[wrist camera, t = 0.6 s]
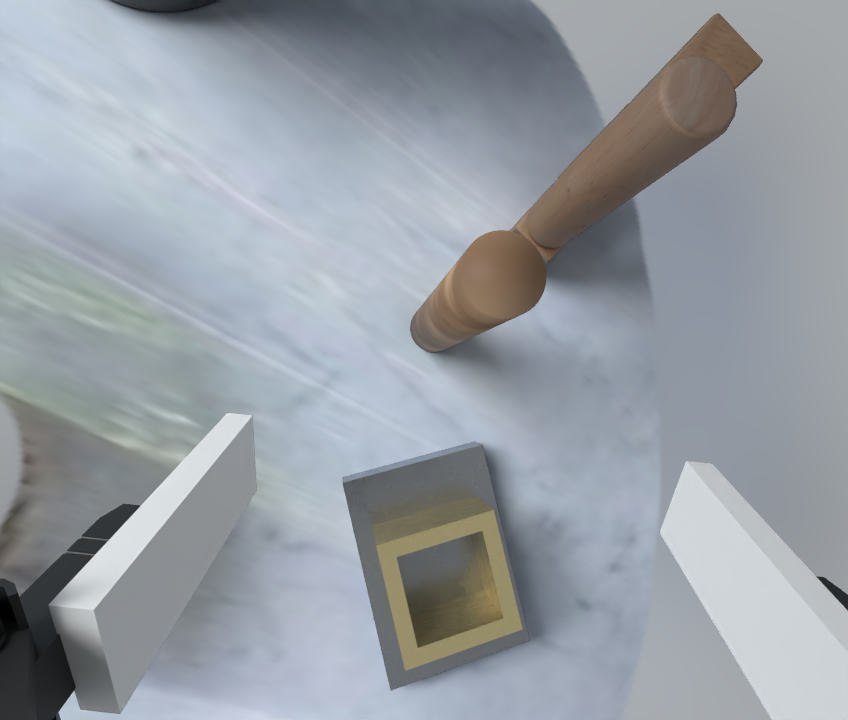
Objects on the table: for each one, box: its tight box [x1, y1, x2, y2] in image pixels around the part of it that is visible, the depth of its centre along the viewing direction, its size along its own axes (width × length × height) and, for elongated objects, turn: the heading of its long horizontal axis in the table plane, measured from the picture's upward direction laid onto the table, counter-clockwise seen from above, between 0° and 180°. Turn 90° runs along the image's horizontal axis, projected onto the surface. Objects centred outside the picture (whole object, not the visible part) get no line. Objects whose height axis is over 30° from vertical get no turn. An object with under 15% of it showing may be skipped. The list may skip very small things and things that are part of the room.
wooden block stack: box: [510, 14, 763, 264], centre depth 28 cm, size 4×11×18 cm, turn 138°
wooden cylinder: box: [410, 231, 546, 352], centre depth 26 cm, size 4×4×16 cm
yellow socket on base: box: [343, 442, 530, 690], centre depth 30 cm, size 14×10×6 cm
